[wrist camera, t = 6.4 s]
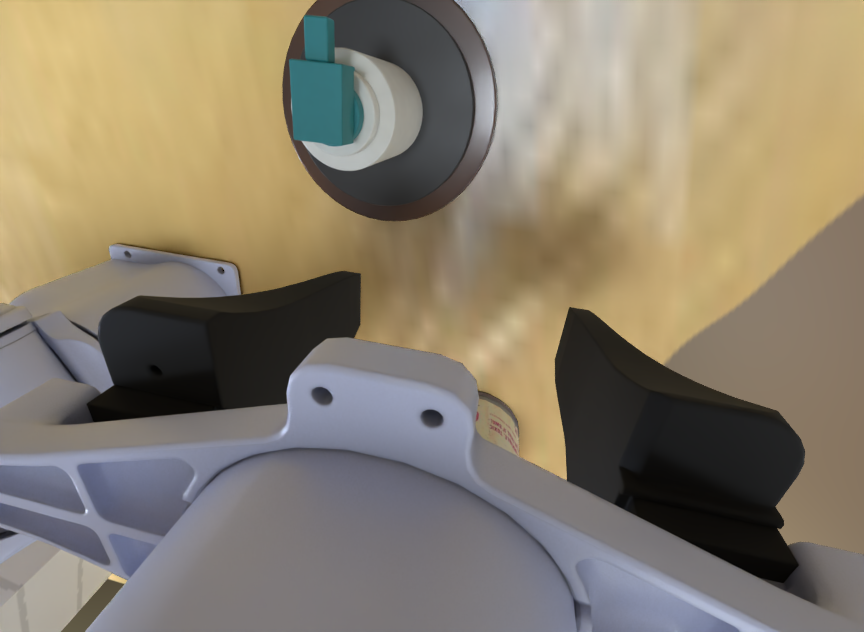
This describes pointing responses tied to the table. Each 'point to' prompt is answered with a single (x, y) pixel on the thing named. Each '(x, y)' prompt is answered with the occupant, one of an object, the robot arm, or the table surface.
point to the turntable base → (485, 96)
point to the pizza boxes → (45, 588)
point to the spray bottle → (382, 100)
